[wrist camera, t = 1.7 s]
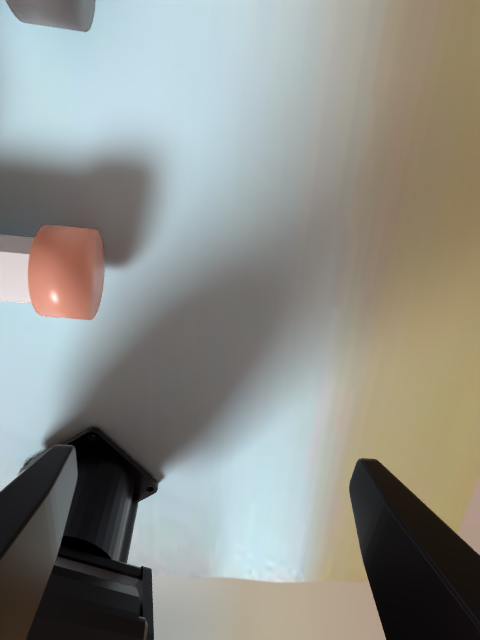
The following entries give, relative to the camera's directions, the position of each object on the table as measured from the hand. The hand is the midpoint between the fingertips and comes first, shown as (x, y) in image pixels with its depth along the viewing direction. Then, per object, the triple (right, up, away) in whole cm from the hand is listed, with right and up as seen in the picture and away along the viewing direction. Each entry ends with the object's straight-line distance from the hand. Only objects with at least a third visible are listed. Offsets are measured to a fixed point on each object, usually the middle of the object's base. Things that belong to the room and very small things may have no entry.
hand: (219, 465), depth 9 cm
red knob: (-10, +7, +10) cm, 16 cm away
